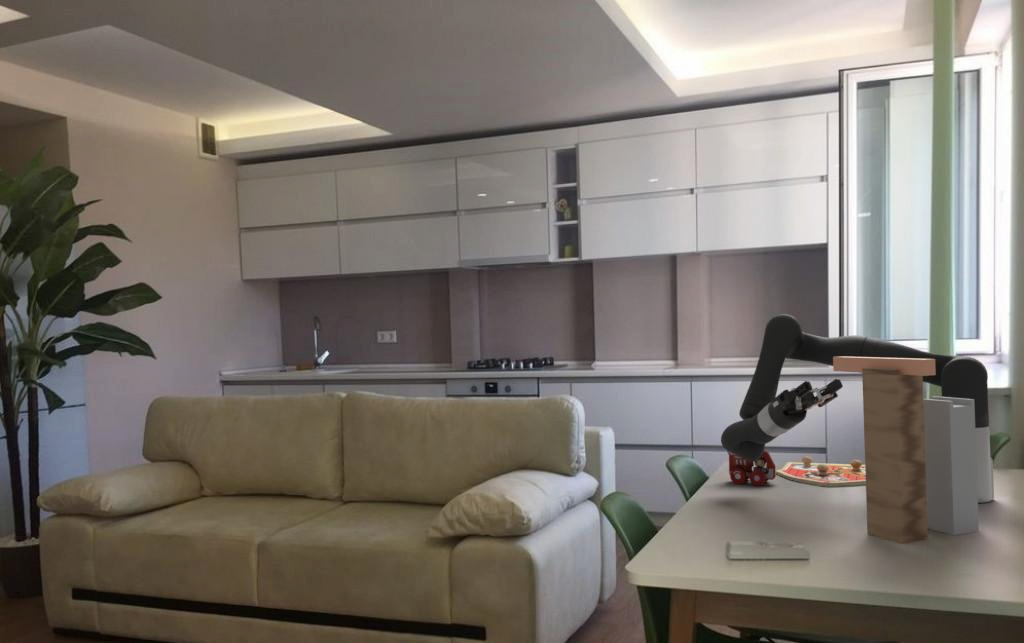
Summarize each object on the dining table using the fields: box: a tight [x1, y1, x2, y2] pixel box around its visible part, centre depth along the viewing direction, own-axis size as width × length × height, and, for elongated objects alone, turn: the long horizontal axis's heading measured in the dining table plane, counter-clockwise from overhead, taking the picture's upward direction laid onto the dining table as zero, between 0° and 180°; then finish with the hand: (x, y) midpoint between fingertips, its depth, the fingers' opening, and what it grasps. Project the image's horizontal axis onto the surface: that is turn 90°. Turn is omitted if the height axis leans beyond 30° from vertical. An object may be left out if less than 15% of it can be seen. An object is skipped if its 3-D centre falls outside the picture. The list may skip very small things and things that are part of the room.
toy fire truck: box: [726, 450, 777, 487], centre depth 206 cm, size 7×12×10 cm, turn 58°
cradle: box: [923, 395, 980, 536], centre depth 157 cm, size 7×9×26 cm
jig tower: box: [861, 368, 929, 545], centre depth 152 cm, size 7×8×33 cm
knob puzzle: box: [775, 455, 866, 488], centre depth 212 cm, size 29×30×4 cm
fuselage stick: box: [832, 356, 936, 376], centre depth 154 cm, size 3×22×3 cm, turn 22°
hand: (825, 383), depth 168 cm, fingers open, 8 cm apart
